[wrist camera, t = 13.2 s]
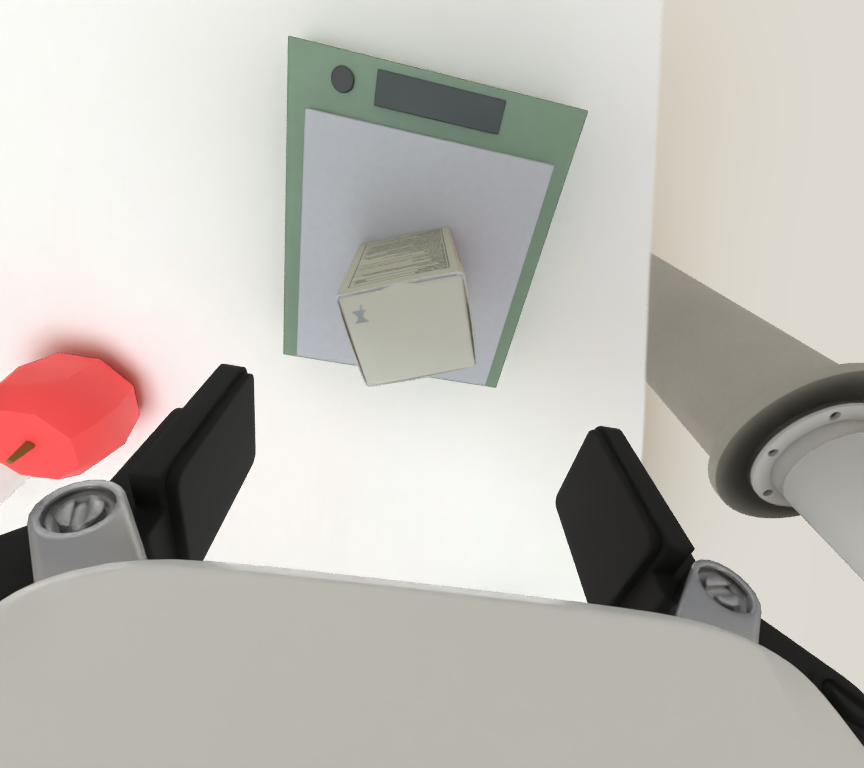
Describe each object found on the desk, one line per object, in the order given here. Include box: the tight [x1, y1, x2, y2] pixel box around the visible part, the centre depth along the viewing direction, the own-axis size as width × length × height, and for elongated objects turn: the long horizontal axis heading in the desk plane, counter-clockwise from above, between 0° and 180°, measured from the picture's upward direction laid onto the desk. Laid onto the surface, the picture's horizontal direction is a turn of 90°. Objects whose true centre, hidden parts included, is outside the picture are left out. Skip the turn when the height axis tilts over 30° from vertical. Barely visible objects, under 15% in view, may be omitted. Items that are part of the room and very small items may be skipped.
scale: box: [283, 36, 588, 388], centre depth 24 cm, size 14×16×4 cm
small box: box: [335, 227, 477, 387], centre depth 20 cm, size 5×4×8 cm
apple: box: [0, 353, 140, 479], centre depth 28 cm, size 8×8×8 cm
